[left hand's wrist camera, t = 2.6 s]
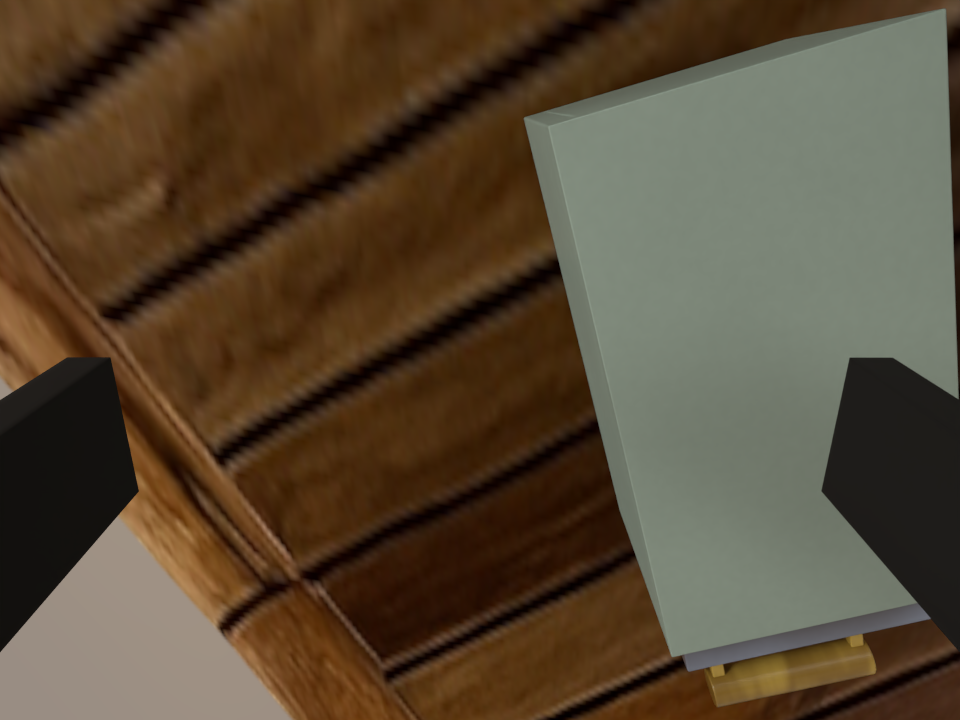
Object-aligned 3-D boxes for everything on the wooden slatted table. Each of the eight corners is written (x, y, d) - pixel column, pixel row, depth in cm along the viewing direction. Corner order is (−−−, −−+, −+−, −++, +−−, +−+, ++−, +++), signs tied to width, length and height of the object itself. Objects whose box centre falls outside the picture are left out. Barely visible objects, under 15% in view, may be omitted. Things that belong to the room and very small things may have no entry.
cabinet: (832, 459, 36) (965, 593, 26) (619, 510, 37) (672, 657, 27) (786, 39, 28) (946, 7, 19) (523, 117, 29) (547, 126, 20)
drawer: (843, 592, 38) (940, 723, 30) (661, 633, 38) (710, 770, 31) (790, 122, 29) (909, 131, 21) (556, 189, 30) (586, 222, 22)
